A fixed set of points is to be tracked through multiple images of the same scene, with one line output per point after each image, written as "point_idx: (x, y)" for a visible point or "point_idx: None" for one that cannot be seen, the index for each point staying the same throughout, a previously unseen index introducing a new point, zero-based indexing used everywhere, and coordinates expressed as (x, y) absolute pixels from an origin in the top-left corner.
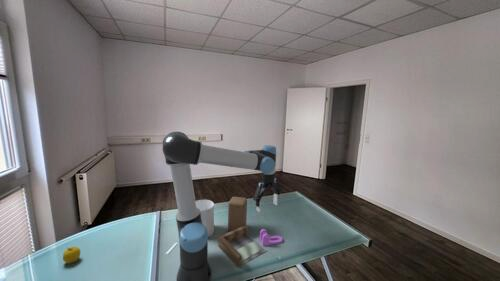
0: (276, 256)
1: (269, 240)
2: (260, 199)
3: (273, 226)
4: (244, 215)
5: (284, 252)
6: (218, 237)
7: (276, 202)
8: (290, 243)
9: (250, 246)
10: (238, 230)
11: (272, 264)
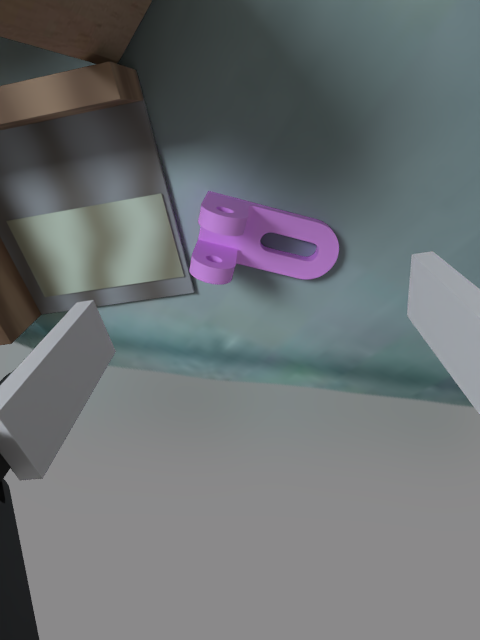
0: (222, 334)
1: (250, 243)
2: (10, 508)
3: (403, 90)
4: (62, 5)
5: (273, 332)
6: None
7: (425, 334)
8: (350, 299)
9: (121, 228)
10: (26, 117)
11: (179, 358)
